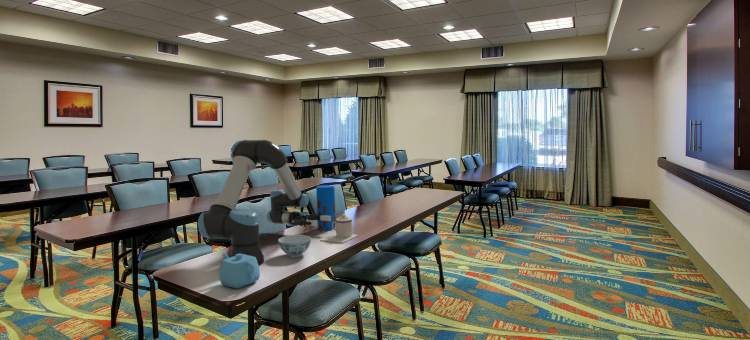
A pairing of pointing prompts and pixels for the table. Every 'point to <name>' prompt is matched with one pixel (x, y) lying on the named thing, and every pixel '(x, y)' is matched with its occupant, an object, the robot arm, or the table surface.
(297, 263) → the table surface
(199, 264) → the table surface
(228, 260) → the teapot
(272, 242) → the table surface
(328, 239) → the mat
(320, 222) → the blue tall box
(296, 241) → the chinaware
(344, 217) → the teacup with lid
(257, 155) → the robot arm
